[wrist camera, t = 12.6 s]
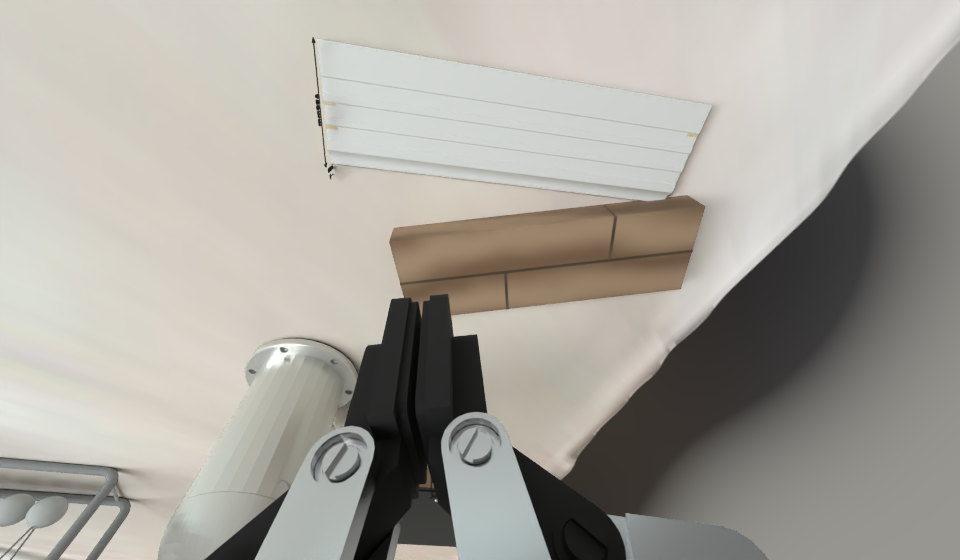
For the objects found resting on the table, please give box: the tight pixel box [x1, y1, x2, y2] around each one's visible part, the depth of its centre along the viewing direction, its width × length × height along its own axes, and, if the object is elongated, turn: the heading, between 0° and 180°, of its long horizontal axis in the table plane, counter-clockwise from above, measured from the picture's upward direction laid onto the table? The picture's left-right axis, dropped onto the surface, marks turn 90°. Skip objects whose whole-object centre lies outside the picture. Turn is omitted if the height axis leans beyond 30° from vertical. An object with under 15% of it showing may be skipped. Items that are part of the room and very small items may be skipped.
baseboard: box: [312, 37, 712, 201], centre depth 28 cm, size 30×3×10 cm
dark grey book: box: [397, 469, 457, 547], centre depth 62 cm, size 33×4×24 cm
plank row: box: [389, 195, 705, 318], centre depth 34 cm, size 9×28×3 cm, turn 95°
